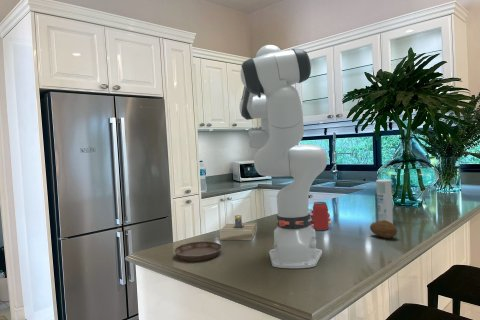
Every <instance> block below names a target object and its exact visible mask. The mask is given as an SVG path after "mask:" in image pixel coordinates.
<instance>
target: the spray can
mask: <svg viewBox="0 0 480 320" xmlns="http://www.w3.org/2000/svg"><path fill="white" fill-rule="evenodd" d="M375 183H376V184H375V185H376V186H375V187H376V189H375V190H376V202H377V219H378V220H377V222H379V221H382V220H386V221H389V222H391V223H392V224H393V225H394V214H393V212H394V211H393V190H392V189H393V187H392V179H376V180H375Z"/></svg>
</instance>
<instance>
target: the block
mask: <svg viewBox="0 0 480 320" xmlns="http://www.w3.org/2000/svg"><path fill="white" fill-rule="evenodd" d="M257 232H258V226H257V223H256V222H246V223H245V222H244V223H243V222H242V228H235V222H233V223H226V224H225V225H224V226H223V227H222V228H221V229H220V230H219V233H218V234H219V241H252V240H253V239H254V238H255V236H256V234H257Z"/></svg>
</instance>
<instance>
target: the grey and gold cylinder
mask: <svg viewBox="0 0 480 320" xmlns="http://www.w3.org/2000/svg"><path fill="white" fill-rule="evenodd" d="M234 223H235V228H242V223H243V221H242V215H241V214H236V215H234Z"/></svg>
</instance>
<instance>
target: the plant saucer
mask: <svg viewBox="0 0 480 320" xmlns="http://www.w3.org/2000/svg"><path fill="white" fill-rule="evenodd" d="M222 249H223V246H222V244H220V243H218V242H214V241H193V242H188V243H184V244H180V245H178V246H177V247H176V248H175V249H174V254H176V255H177V256H178V258H179V259H180V260H182V261H185V260H186V261H187V262H201V260H203V261H206V260H207V259H208V260H211V259H213V258H216V257H217V255H219V253H220V252H221V251H222ZM210 258H211V259H210Z"/></svg>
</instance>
